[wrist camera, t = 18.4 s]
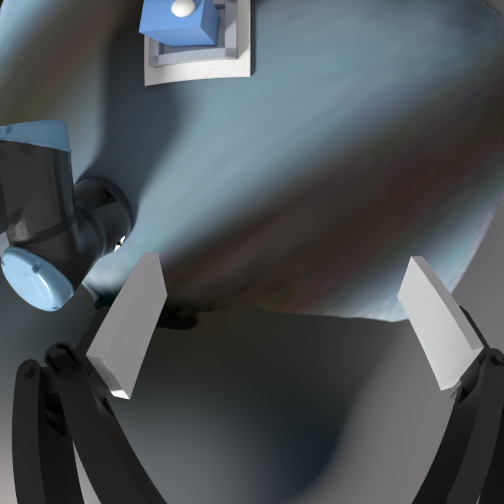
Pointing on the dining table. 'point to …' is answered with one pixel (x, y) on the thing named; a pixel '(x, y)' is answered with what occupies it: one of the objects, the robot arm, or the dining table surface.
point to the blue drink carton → (181, 22)
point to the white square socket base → (204, 51)
